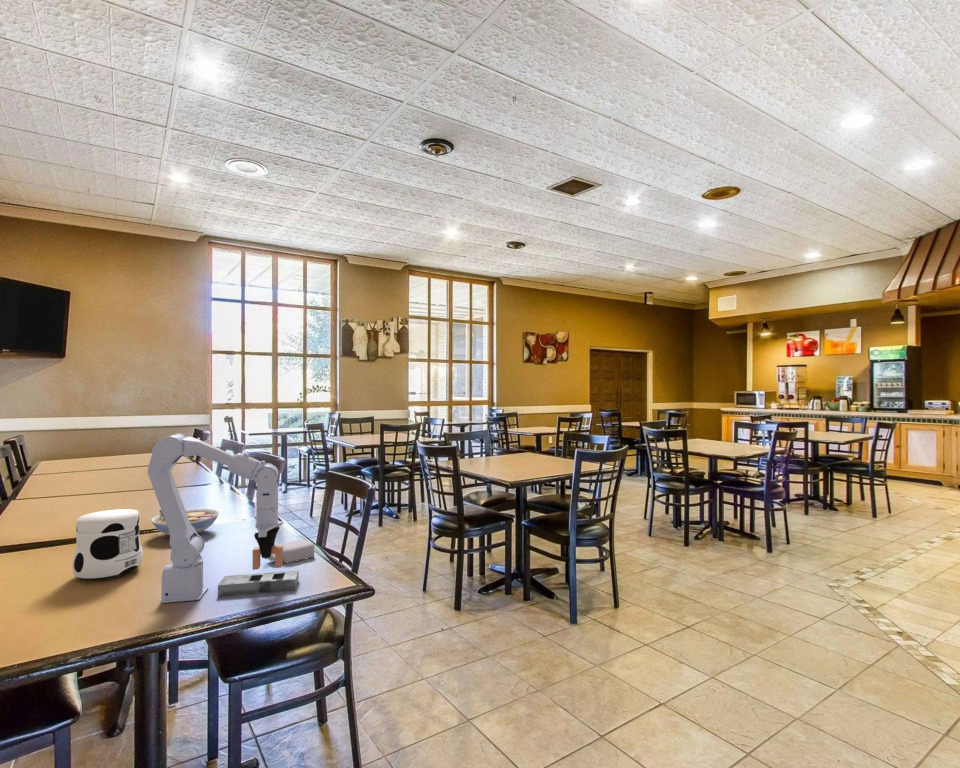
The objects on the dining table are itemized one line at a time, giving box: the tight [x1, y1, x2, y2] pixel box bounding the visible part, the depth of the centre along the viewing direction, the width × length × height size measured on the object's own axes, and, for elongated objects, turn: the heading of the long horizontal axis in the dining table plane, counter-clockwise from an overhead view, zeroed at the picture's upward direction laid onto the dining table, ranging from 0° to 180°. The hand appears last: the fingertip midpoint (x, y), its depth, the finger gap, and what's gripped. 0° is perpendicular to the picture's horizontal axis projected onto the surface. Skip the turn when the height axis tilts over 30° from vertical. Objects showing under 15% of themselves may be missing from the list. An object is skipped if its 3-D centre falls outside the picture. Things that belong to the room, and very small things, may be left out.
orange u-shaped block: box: [251, 544, 284, 570], centre depth 147 cm, size 8×3×6 cm, turn 102°
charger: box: [264, 538, 315, 564], centre depth 170 cm, size 5×9×15 cm
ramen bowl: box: [150, 508, 220, 536], centre depth 198 cm, size 25×23×8 cm
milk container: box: [71, 508, 144, 581], centre depth 157 cm, size 17×17×18 cm
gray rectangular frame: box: [217, 570, 300, 597], centre depth 146 cm, size 20×7×3 cm, turn 102°
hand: (267, 555), depth 147 cm, fingers closed on orange u-shaped block, 3 cm apart
